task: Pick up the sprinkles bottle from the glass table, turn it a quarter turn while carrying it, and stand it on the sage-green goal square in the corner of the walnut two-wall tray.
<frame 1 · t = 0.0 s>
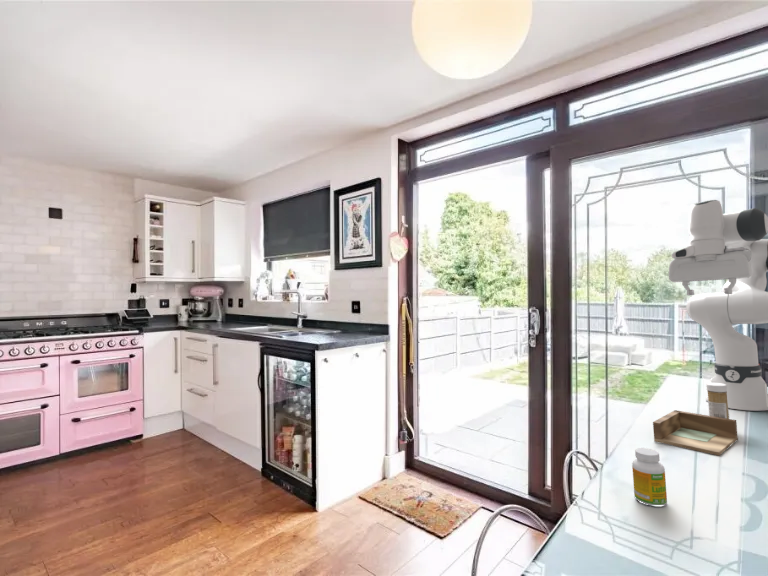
hand: (708, 294, 124), 39 cm above the table, tool pointing down, fingers open, 8 cm apart
corner arena: (695, 440, 108), on the table
supplement bottle: (650, 502, 79), on the table
sprinkles bottle: (720, 431, 114), on the table
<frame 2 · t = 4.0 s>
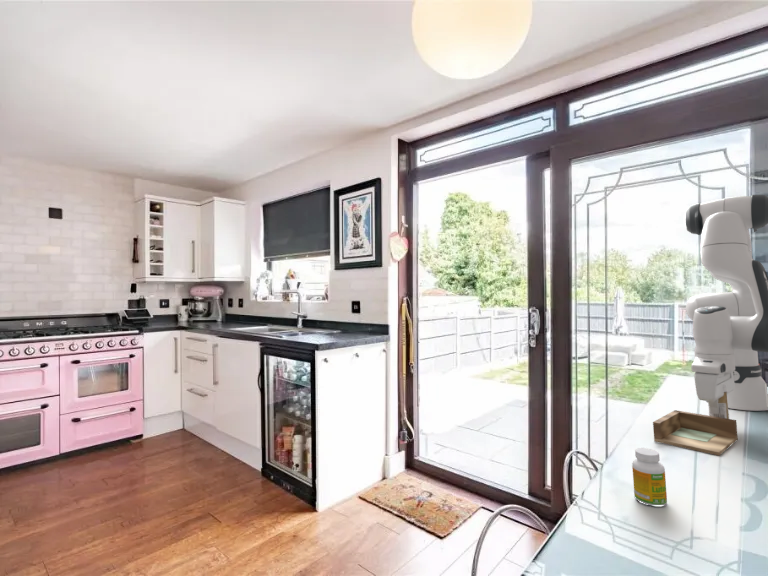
hand: (718, 411, 114), 6 cm above the table, tool pointing down, fingers closed on sprinkles bottle, 4 cm apart
sprinkles bottle: (720, 431, 114), on the table, touching gripper
everything else where it was.
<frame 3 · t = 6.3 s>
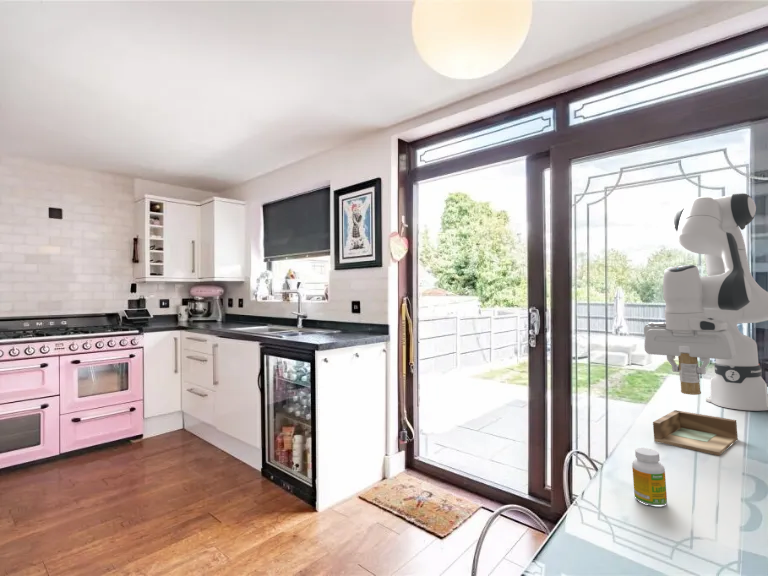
hand: (688, 372, 110), 18 cm above the table, tool pointing down, fingers closed on sprinkles bottle, 4 cm apart
sprinkles bottle: (691, 394, 110), point 12 cm above the table, touching gripper
everything else where it was.
when the fingers open (7 cm above the table, at t = 8.9 s): sprinkles bottle stays where it is, resting on corner arena.
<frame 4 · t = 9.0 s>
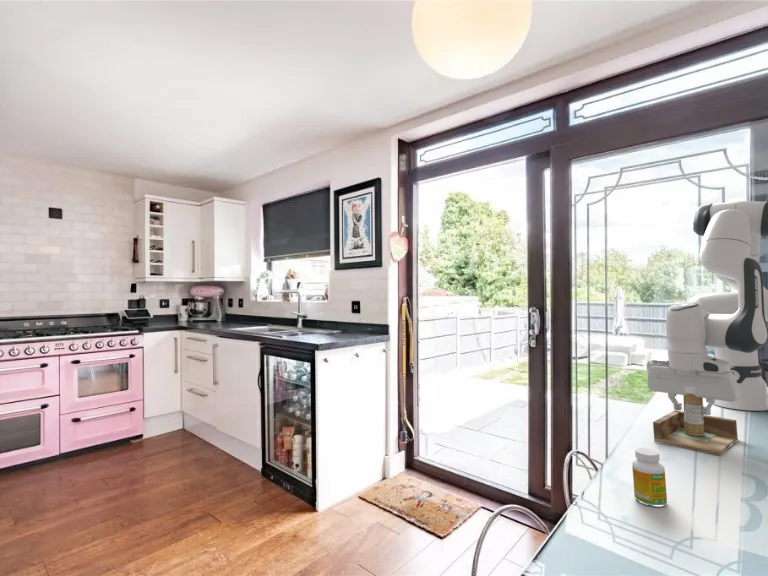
hand: (691, 411, 110), 7 cm above the table, tool pointing down, fingers open, 5 cm apart
sprinkles bottle: (694, 434, 110), point 1 cm above the table, touching corner arena, gripper
everything else where it was.
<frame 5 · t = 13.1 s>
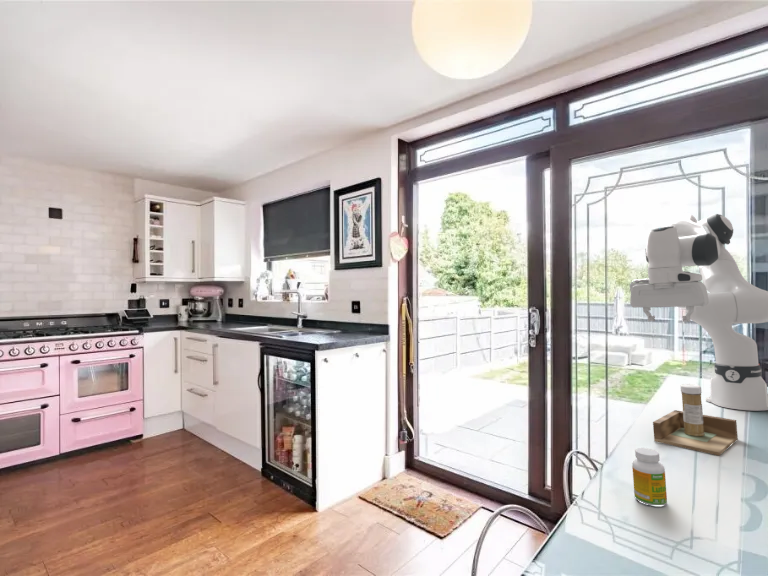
hand: (668, 321, 124), 31 cm above the table, tool pointing down, fingers open, 8 cm apart
sprinkles bottle: (694, 434, 110), point 1 cm above the table, touching corner arena
everything else where it was.
at the end: sprinkles bottle 0.2 cm from the target spot on the corner arena, point 0.7 cm above the corner arena's base; sprinkles bottle tilted 0°; the gripper is holding nothing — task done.
